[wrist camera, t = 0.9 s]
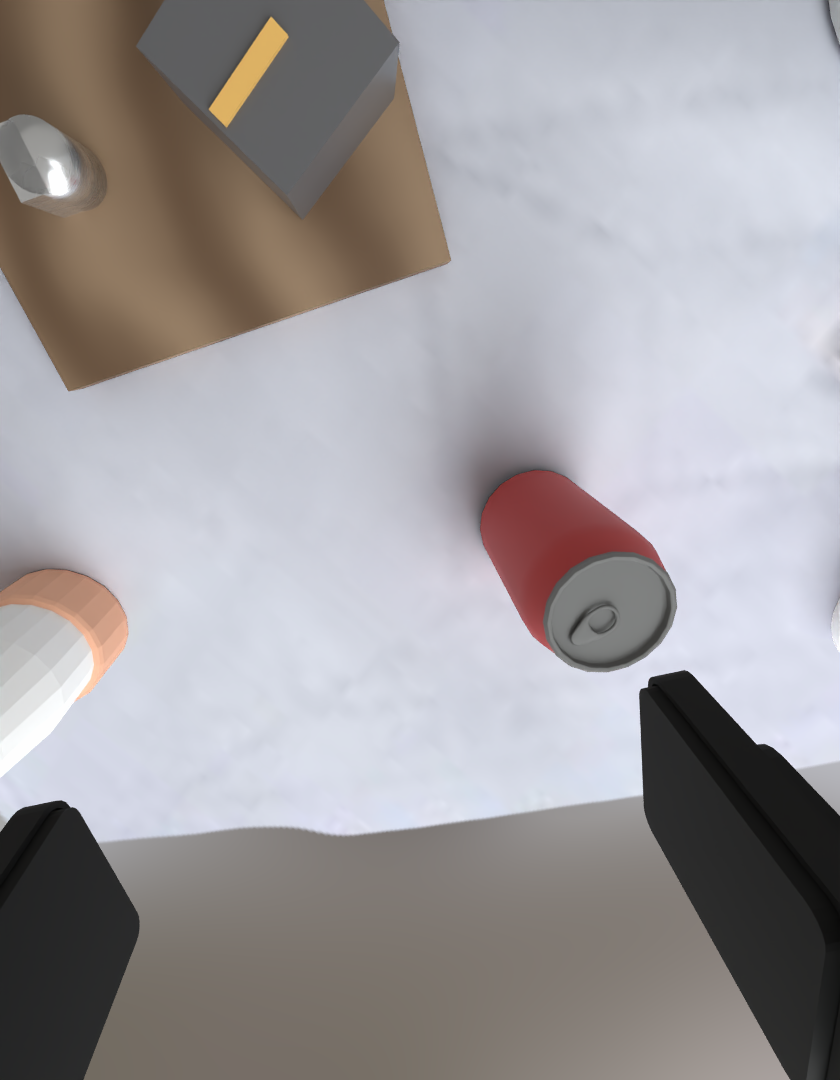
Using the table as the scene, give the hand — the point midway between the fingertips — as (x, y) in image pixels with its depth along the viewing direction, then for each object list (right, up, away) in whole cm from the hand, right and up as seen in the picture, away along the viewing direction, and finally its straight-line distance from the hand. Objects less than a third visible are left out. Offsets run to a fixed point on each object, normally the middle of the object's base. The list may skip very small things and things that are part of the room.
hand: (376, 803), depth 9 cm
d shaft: (-14, +20, +15) cm, 29 cm away
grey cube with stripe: (-5, +23, +15) cm, 28 cm away
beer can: (+8, +6, +24) cm, 26 cm away
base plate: (-10, +22, +16) cm, 29 cm away
